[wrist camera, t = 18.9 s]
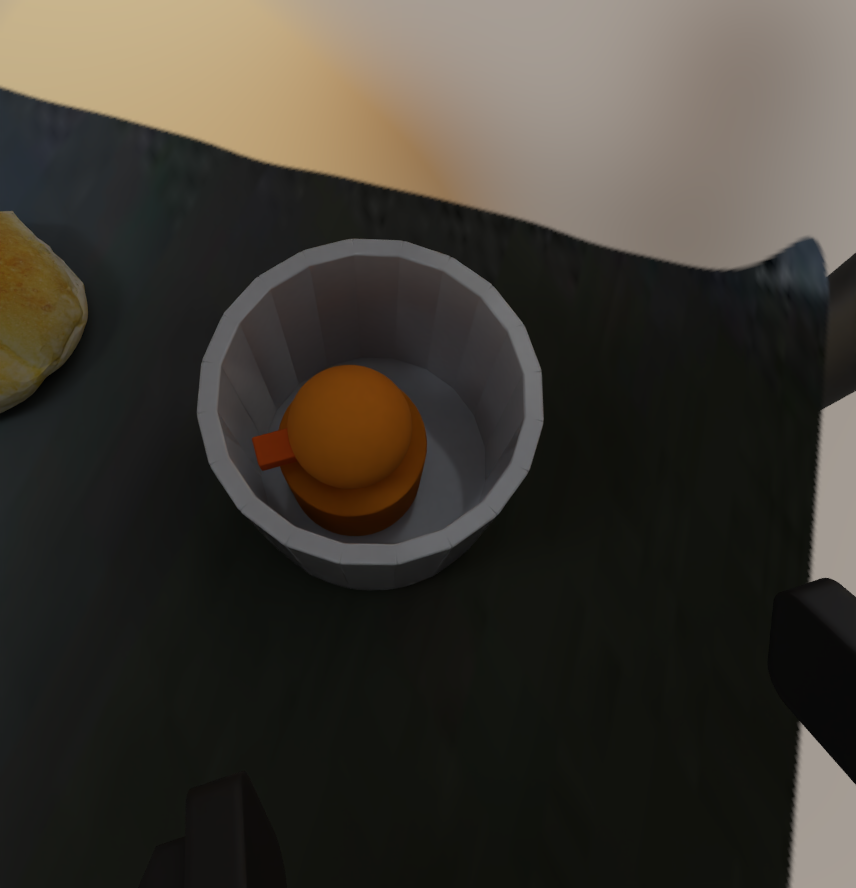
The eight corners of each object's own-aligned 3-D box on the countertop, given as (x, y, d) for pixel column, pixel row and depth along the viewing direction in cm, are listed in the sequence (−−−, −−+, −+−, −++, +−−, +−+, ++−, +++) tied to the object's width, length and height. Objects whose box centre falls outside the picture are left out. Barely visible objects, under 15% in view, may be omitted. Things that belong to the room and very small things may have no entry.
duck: (399, 396, 31) (406, 308, 23) (436, 515, 30) (457, 465, 22) (265, 433, 30) (223, 355, 22) (297, 556, 29) (266, 520, 21)
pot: (453, 323, 33) (480, 205, 24) (531, 546, 30) (592, 504, 22) (223, 385, 31) (163, 283, 23) (285, 624, 29) (245, 612, 20)
